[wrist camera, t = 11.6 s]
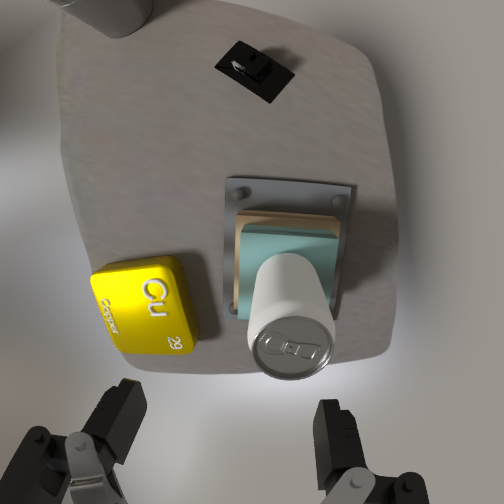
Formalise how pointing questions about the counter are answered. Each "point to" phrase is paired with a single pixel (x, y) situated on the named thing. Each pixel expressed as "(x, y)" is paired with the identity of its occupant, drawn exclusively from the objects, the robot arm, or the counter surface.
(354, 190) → the counter surface
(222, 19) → the counter surface
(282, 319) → the can
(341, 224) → the brick tower
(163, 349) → the element tile
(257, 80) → the black slotted housing
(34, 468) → the robot arm
